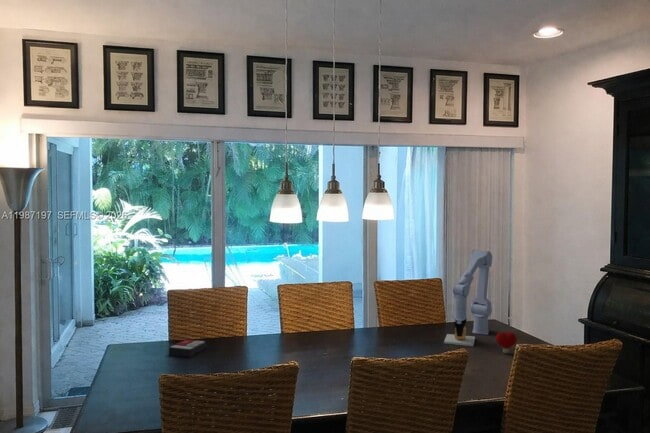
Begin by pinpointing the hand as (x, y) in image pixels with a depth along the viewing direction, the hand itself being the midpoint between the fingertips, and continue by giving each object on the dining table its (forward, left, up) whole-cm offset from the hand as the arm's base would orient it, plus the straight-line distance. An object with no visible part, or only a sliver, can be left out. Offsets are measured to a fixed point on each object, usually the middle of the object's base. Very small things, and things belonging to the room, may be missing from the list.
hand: (460, 334), depth 268 cm
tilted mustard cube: (0, 0, -2) cm, 2 cm away
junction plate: (0, 0, -3) cm, 3 cm away
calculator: (+62, -118, -4) cm, 133 cm away
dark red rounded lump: (+13, +22, -3) cm, 26 cm away
